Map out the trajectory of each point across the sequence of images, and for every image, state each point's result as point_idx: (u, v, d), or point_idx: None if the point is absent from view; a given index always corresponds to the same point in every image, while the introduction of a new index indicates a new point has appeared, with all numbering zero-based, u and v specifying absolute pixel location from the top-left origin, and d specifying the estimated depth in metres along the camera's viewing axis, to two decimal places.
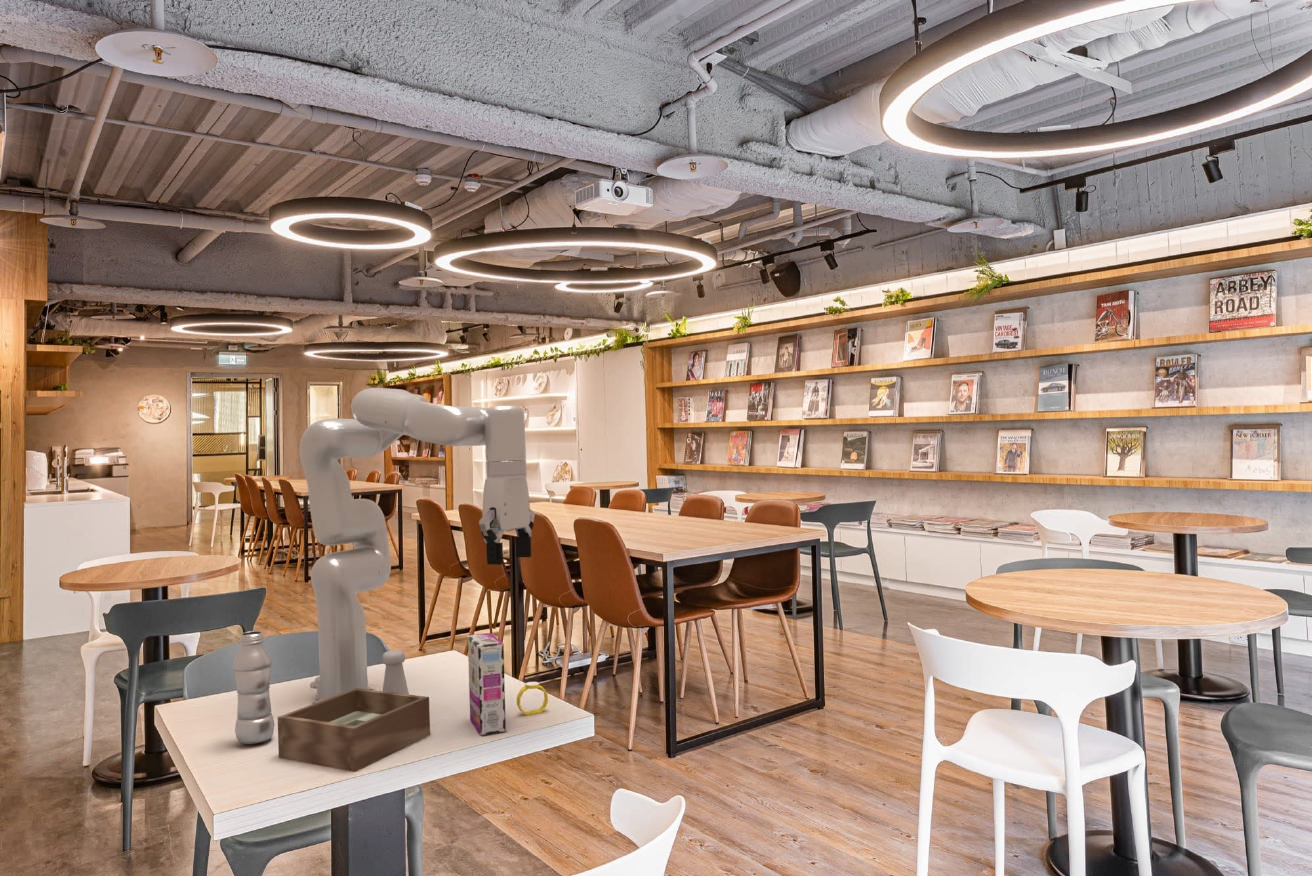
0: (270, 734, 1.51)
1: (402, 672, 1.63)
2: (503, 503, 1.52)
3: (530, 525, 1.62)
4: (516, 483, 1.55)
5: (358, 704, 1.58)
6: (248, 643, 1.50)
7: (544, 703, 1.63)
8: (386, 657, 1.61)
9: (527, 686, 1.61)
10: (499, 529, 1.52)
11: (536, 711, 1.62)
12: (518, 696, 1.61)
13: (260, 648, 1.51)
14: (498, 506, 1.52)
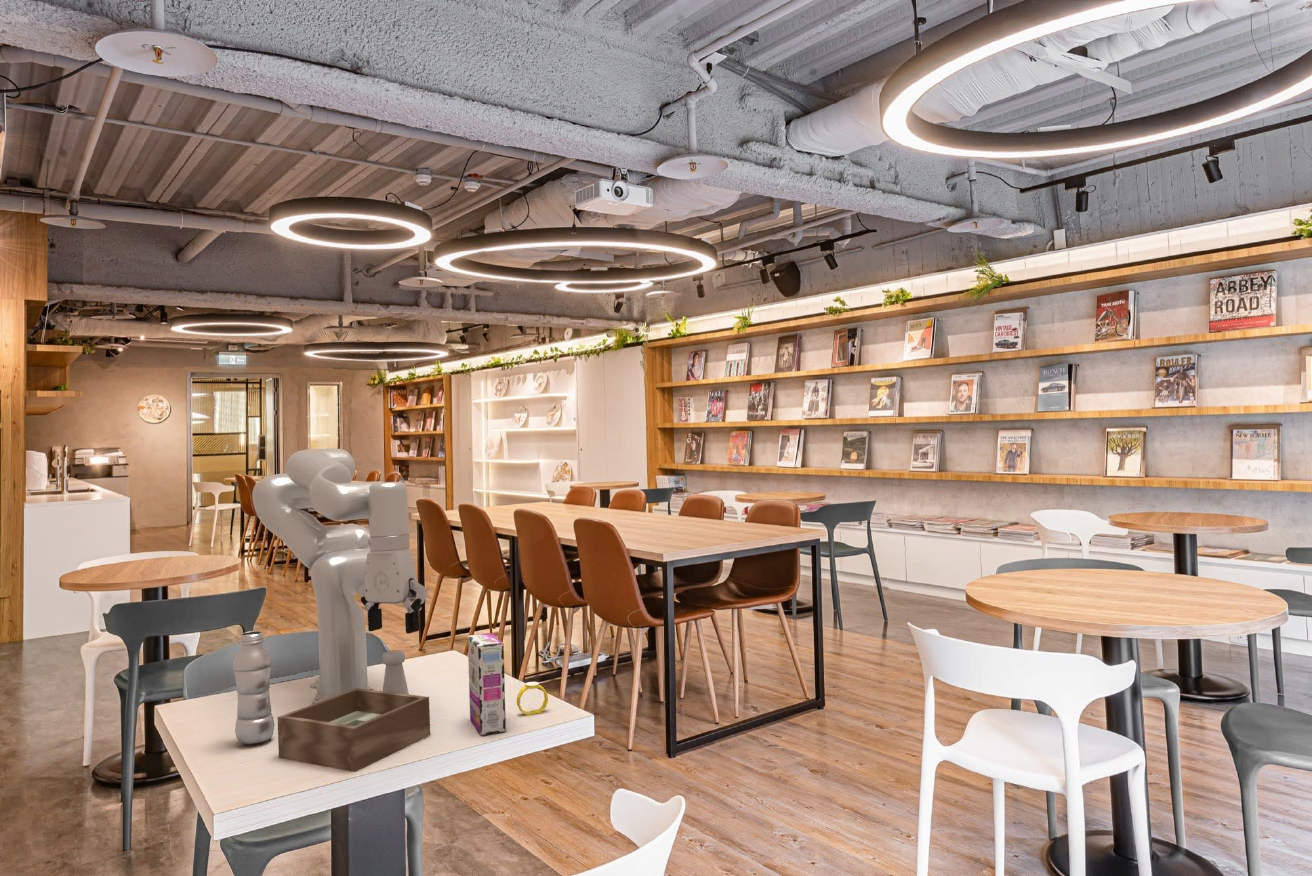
0: (270, 734, 1.51)
1: (402, 672, 1.63)
2: None
3: None
4: None
5: (358, 704, 1.58)
6: (248, 643, 1.50)
7: (544, 703, 1.63)
8: (386, 657, 1.61)
9: (527, 686, 1.61)
10: (415, 598, 1.62)
11: (536, 711, 1.62)
12: (518, 696, 1.61)
13: (260, 648, 1.51)
14: (414, 576, 1.62)
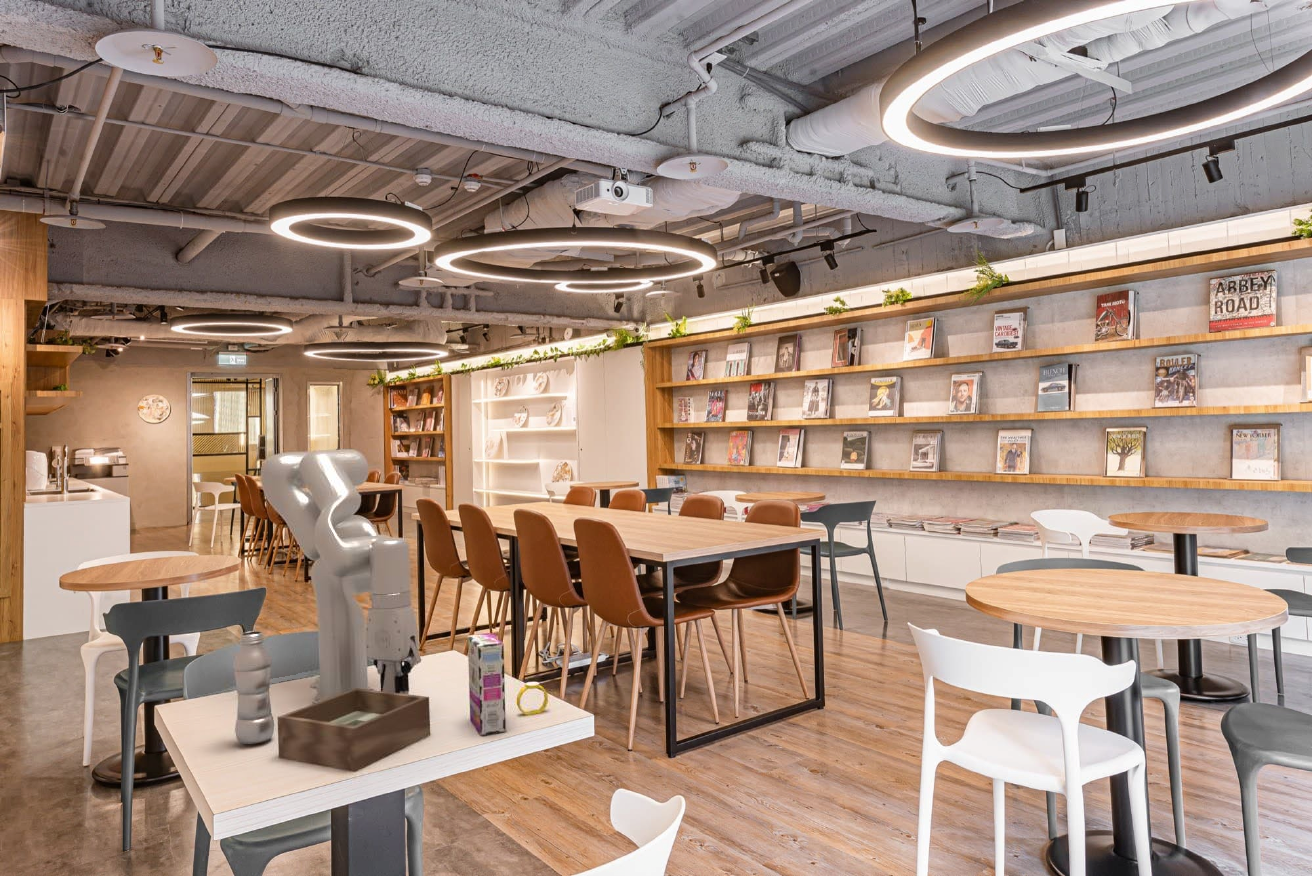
0: (270, 734, 1.51)
1: None
2: None
3: None
4: None
5: (358, 704, 1.58)
6: (248, 643, 1.50)
7: (544, 703, 1.63)
8: None
9: (527, 686, 1.61)
10: None
11: (536, 711, 1.62)
12: (518, 696, 1.61)
13: (260, 648, 1.51)
14: (416, 633, 1.62)
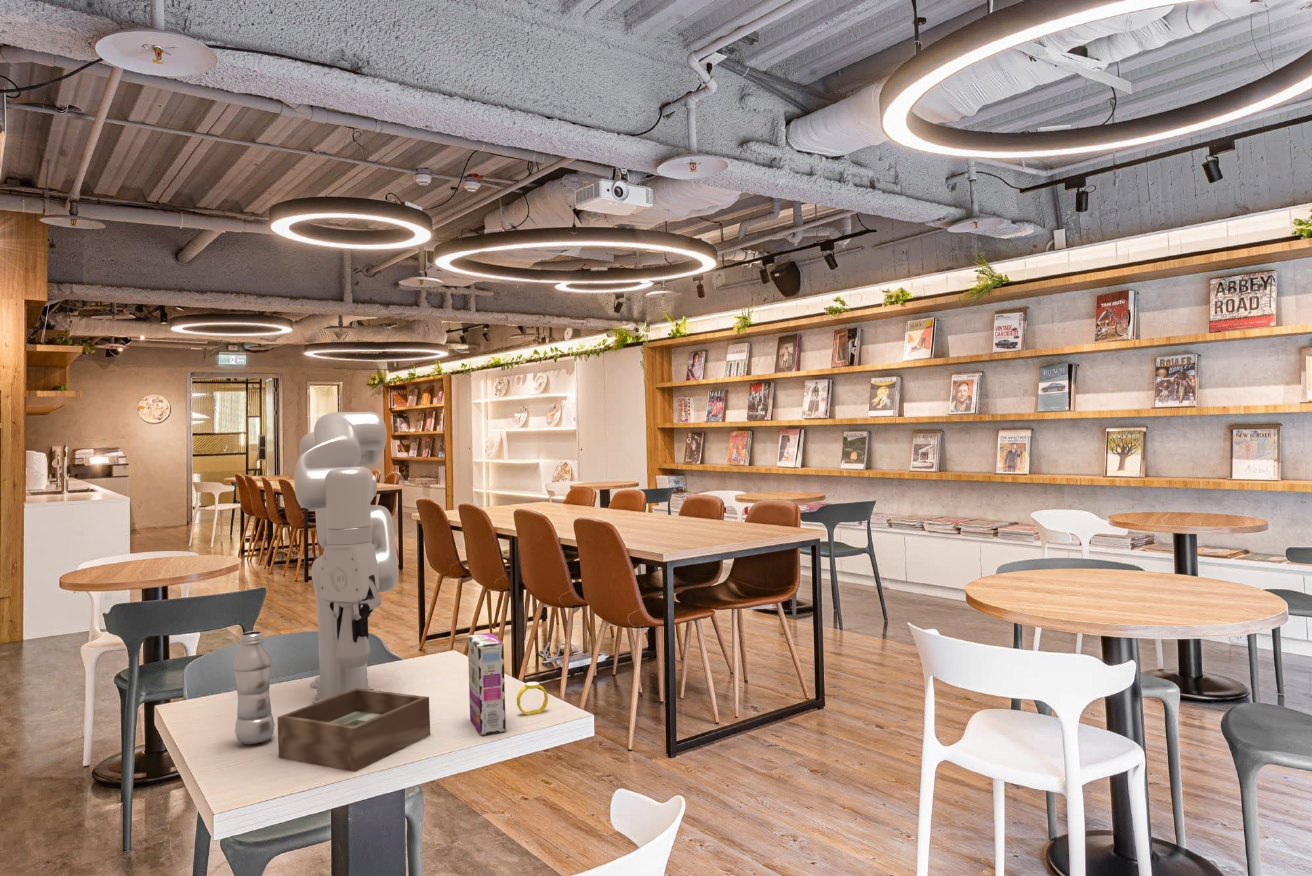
0: (270, 734, 1.51)
1: None
2: None
3: None
4: None
5: (358, 704, 1.58)
6: (248, 643, 1.50)
7: (544, 703, 1.63)
8: None
9: (527, 686, 1.61)
10: None
11: (536, 711, 1.62)
12: (518, 696, 1.61)
13: (260, 648, 1.51)
14: (376, 573, 1.47)
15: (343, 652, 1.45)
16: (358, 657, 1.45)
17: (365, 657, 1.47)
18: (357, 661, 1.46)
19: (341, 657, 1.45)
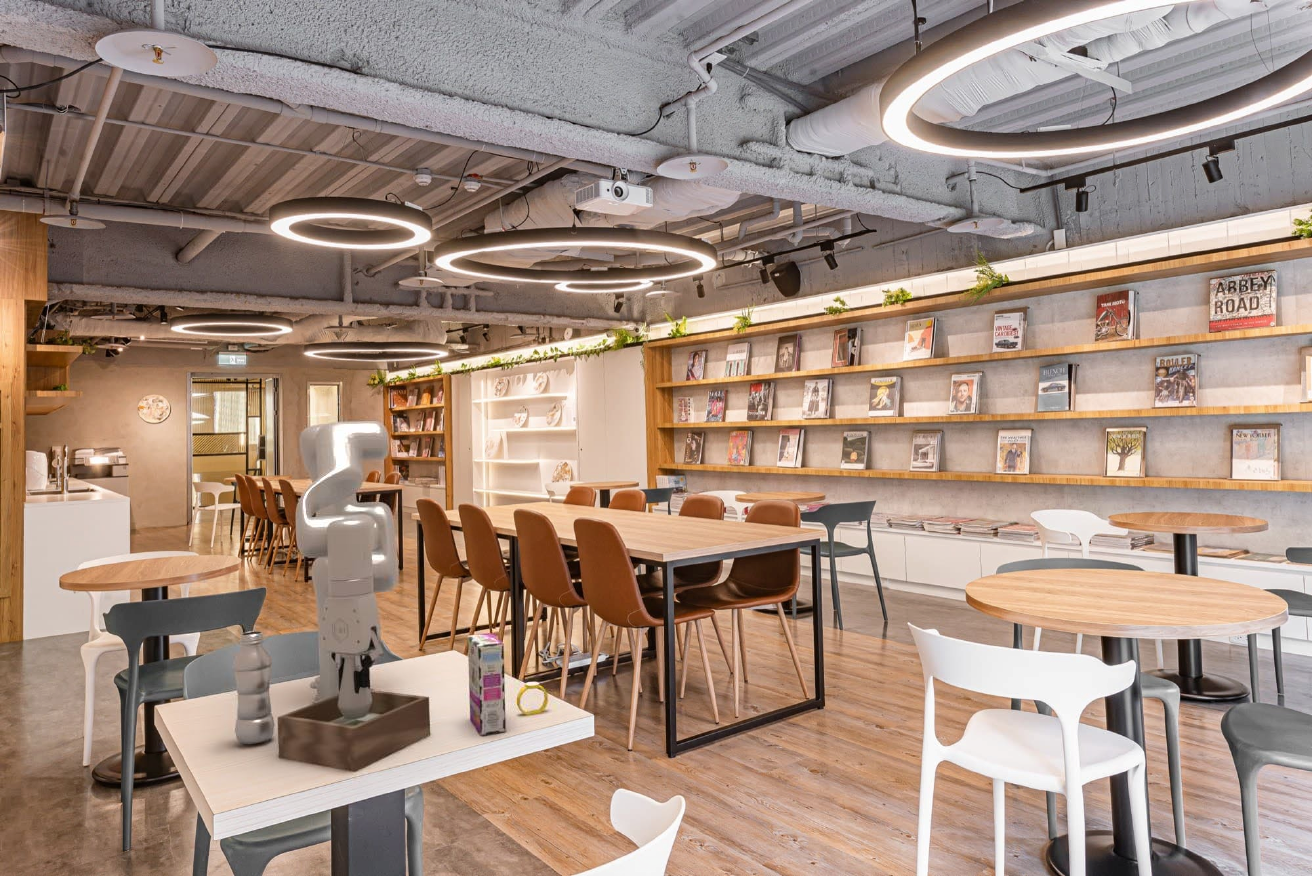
0: (270, 734, 1.51)
1: None
2: None
3: None
4: None
5: None
6: (248, 643, 1.50)
7: (544, 703, 1.63)
8: None
9: (527, 686, 1.61)
10: None
11: (536, 711, 1.62)
12: (518, 696, 1.61)
13: (260, 648, 1.51)
14: (378, 624, 1.47)
15: (344, 704, 1.45)
16: (360, 709, 1.45)
17: (367, 708, 1.47)
18: (359, 712, 1.46)
19: (343, 709, 1.45)
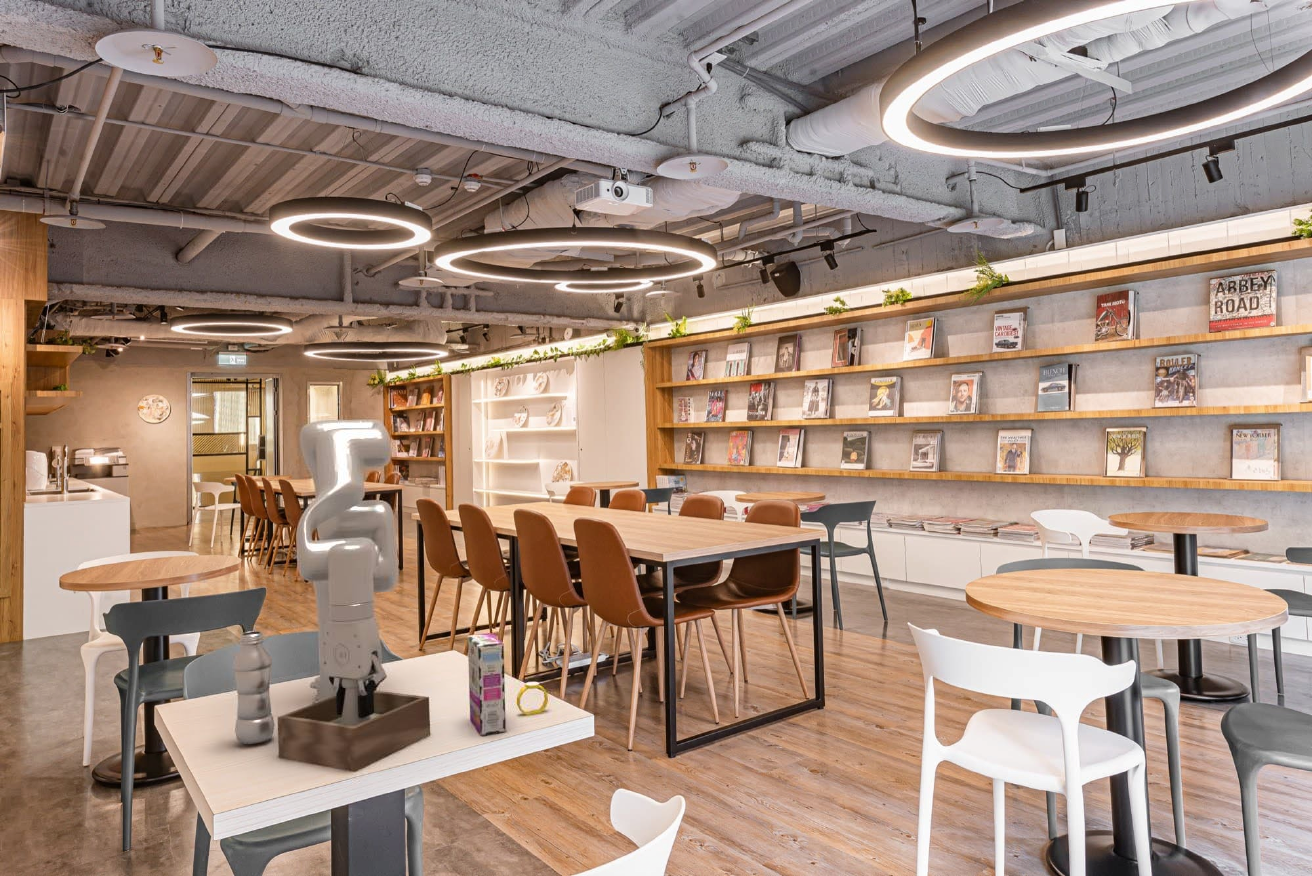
0: (270, 734, 1.51)
1: None
2: None
3: None
4: None
5: None
6: (248, 643, 1.50)
7: (544, 703, 1.63)
8: (346, 679, 1.46)
9: (527, 686, 1.61)
10: None
11: (536, 711, 1.62)
12: (518, 696, 1.61)
13: (260, 648, 1.51)
14: (379, 648, 1.46)
15: None
16: None
17: None
18: None
19: None
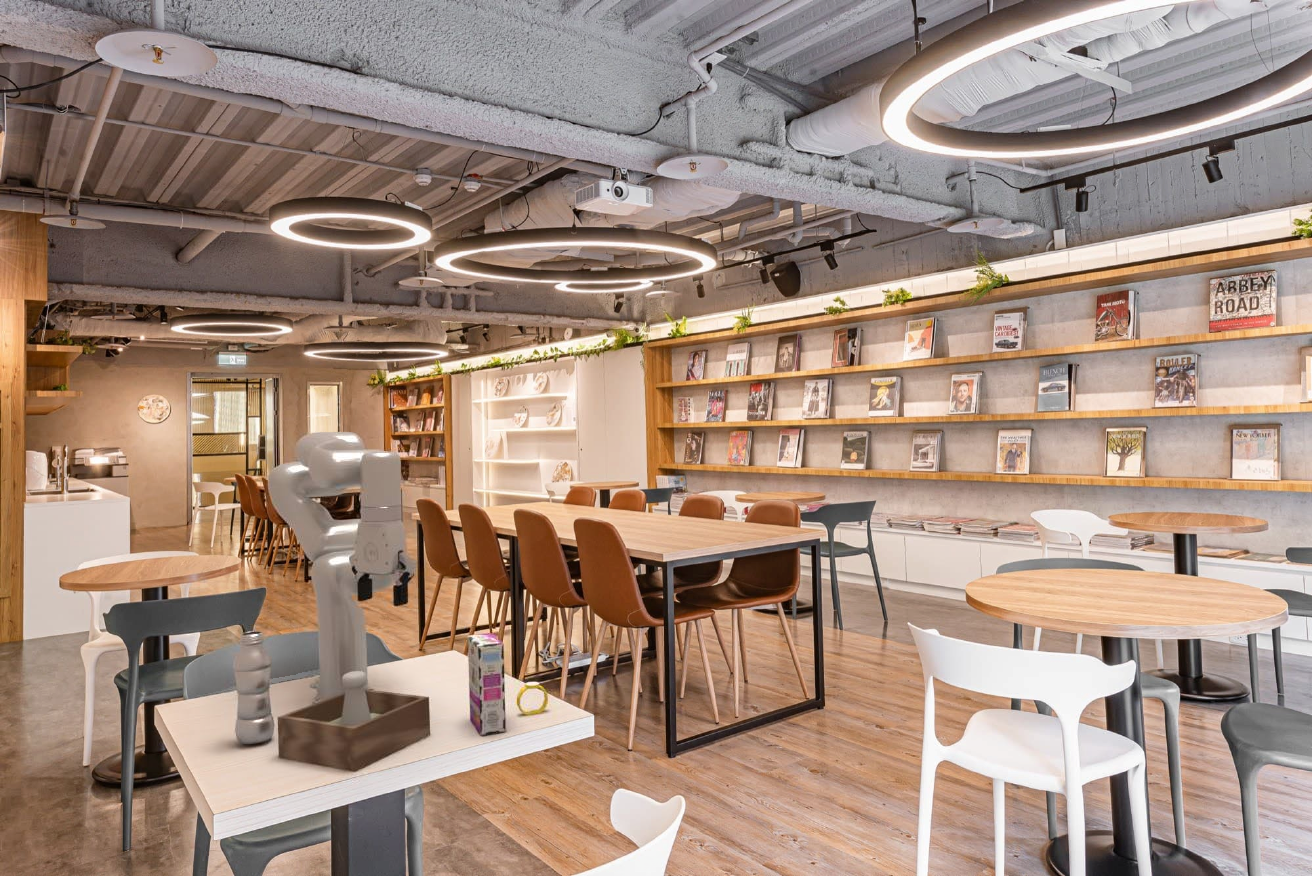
0: (270, 734, 1.51)
1: (363, 696, 1.47)
2: None
3: None
4: None
5: None
6: (248, 643, 1.50)
7: (544, 703, 1.63)
8: (346, 679, 1.46)
9: (527, 686, 1.61)
10: (404, 570, 1.59)
11: (536, 711, 1.62)
12: (518, 696, 1.61)
13: (260, 648, 1.51)
14: (405, 549, 1.59)
15: None
16: None
17: None
18: None
19: None
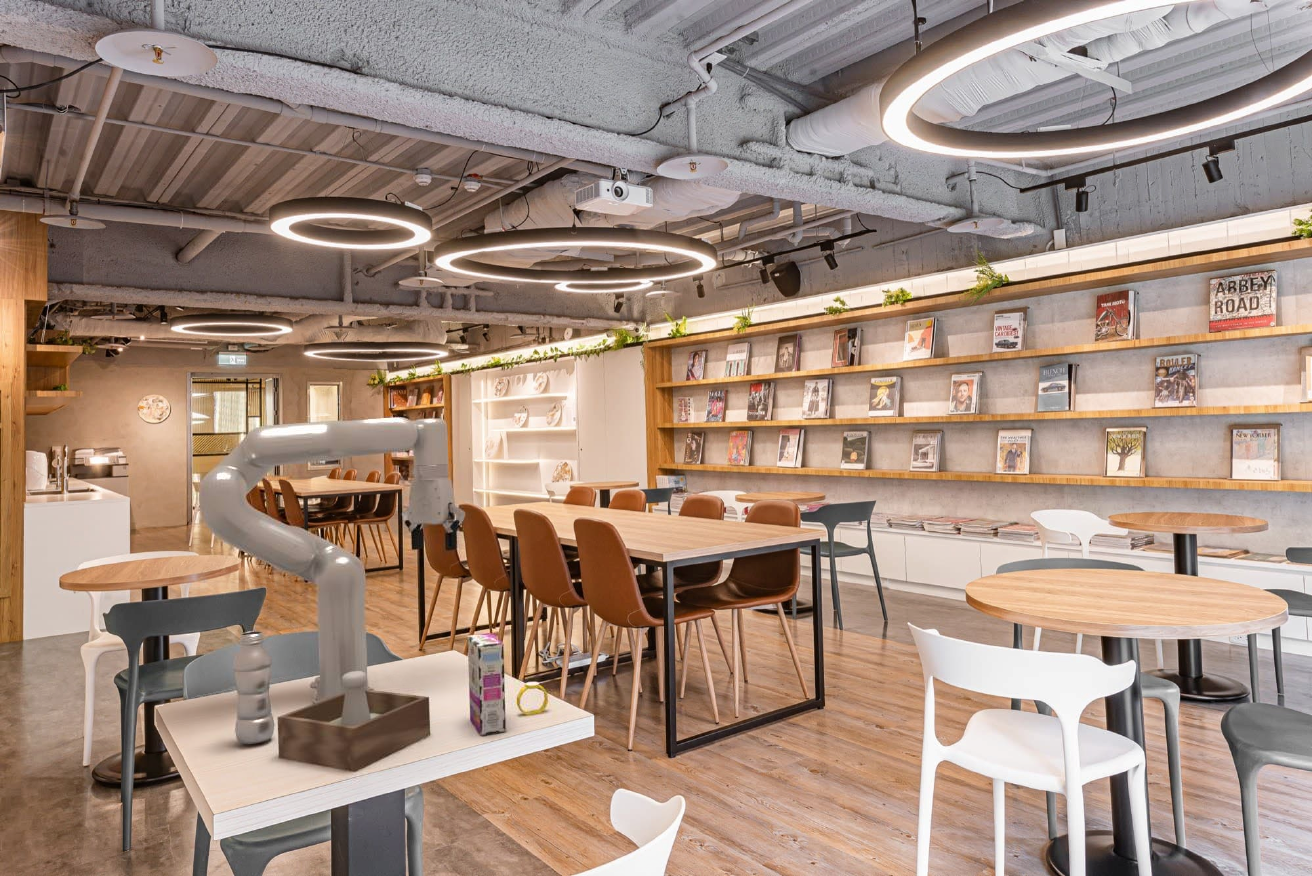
0: (270, 734, 1.51)
1: (363, 696, 1.47)
2: None
3: None
4: None
5: None
6: (248, 643, 1.50)
7: (544, 703, 1.63)
8: (346, 679, 1.46)
9: (527, 686, 1.61)
10: (453, 520, 1.84)
11: (536, 711, 1.62)
12: (518, 696, 1.61)
13: (260, 648, 1.51)
14: (453, 501, 1.84)
15: None
16: None
17: None
18: None
19: None
